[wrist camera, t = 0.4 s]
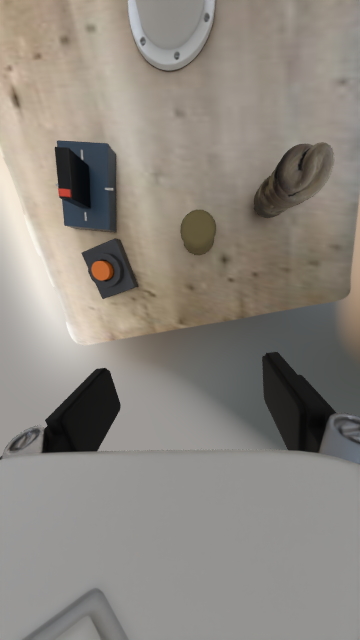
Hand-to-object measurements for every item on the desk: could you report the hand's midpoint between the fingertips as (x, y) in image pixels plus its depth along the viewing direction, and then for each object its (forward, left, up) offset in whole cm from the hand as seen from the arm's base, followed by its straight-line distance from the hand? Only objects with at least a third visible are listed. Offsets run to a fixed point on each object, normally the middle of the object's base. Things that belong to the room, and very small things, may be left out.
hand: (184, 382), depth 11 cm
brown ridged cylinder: (-14, +14, -29) cm, 36 cm away
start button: (-8, -17, -26) cm, 32 cm away
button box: (-8, -17, -29) cm, 35 cm away
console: (-23, -17, -29) cm, 41 cm away
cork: (-11, +2, -29) cm, 32 cm away
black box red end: (-23, -17, -26) cm, 39 cm away
